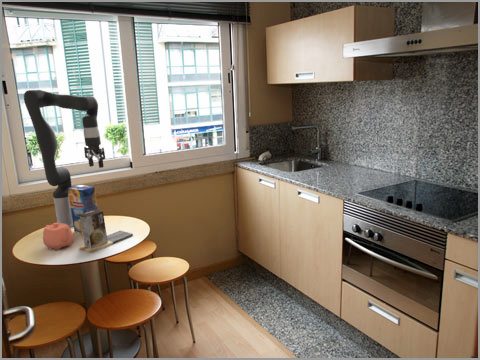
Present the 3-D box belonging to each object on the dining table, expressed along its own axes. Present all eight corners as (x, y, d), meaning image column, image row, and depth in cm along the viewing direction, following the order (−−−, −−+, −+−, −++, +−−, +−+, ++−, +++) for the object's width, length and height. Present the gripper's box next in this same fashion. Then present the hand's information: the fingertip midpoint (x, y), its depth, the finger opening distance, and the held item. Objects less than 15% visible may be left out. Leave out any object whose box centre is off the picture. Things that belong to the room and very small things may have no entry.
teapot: (37, 247, 191) (33, 224, 188) (60, 238, 201) (56, 216, 198) (61, 255, 180) (57, 230, 178) (83, 245, 190) (80, 222, 187)
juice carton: (100, 229, 211) (94, 186, 205) (89, 234, 205) (82, 190, 199) (85, 226, 217) (78, 184, 211) (74, 231, 210) (67, 188, 205)
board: (79, 248, 187) (78, 246, 186) (120, 232, 205) (120, 230, 205) (91, 253, 181) (91, 251, 180) (132, 235, 199) (132, 233, 199)
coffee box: (100, 239, 194) (96, 208, 190) (108, 242, 190) (103, 210, 186) (83, 246, 187) (78, 214, 183) (91, 249, 183) (86, 216, 179)
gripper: (77, 136, 202) (82, 167, 206) (93, 137, 194) (98, 169, 198) (90, 134, 208) (94, 164, 212) (106, 135, 200) (110, 166, 203)
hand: (96, 166), depth 205 cm, fingers open, 8 cm apart
